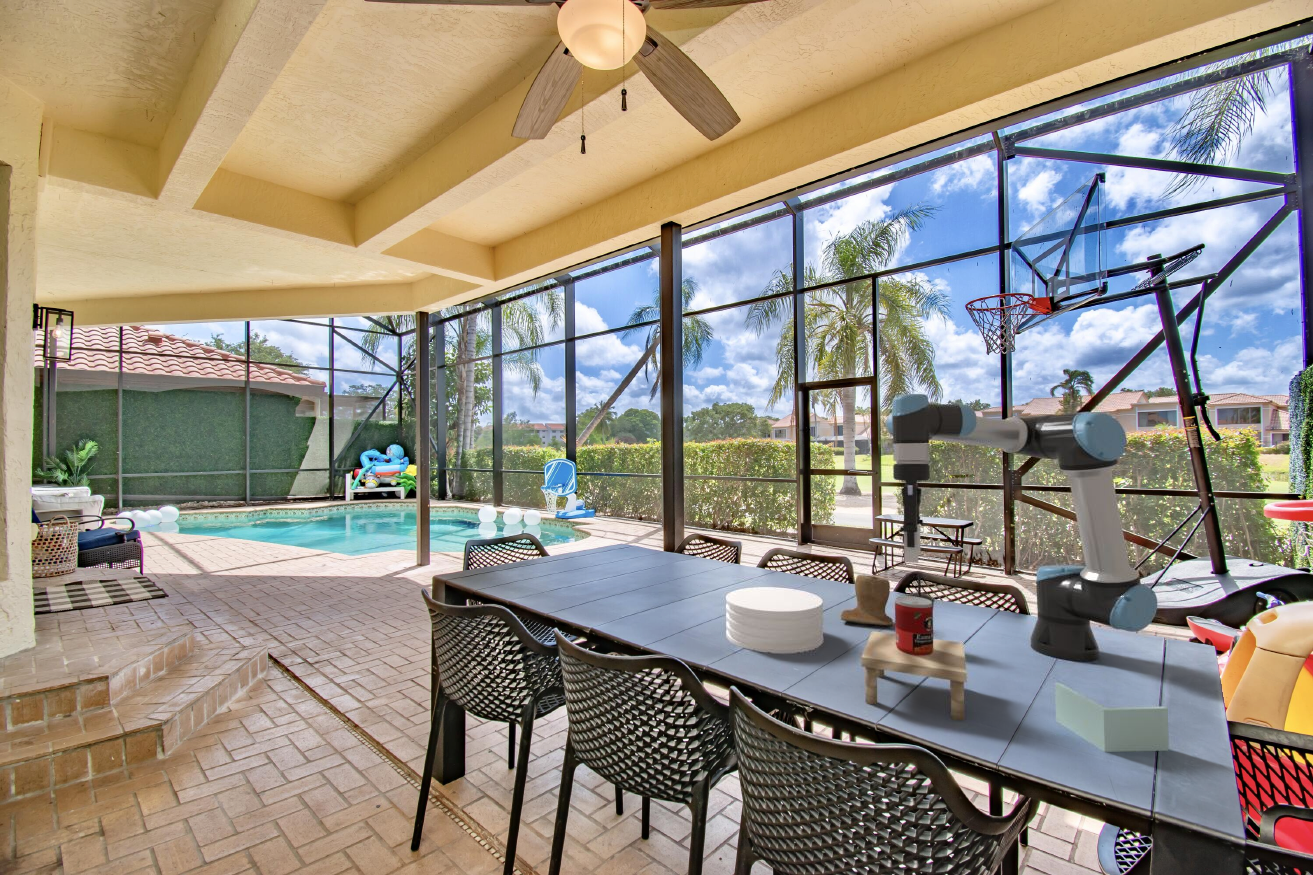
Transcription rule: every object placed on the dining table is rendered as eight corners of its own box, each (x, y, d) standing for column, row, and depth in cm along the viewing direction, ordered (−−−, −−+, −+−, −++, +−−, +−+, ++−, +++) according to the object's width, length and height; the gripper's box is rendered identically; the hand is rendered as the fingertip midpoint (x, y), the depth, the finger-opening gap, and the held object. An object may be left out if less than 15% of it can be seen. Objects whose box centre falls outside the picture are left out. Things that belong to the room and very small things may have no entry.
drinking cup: (929, 642, 162) (928, 571, 162) (940, 651, 154) (938, 577, 155) (901, 641, 163) (900, 571, 163) (910, 651, 155) (909, 577, 156)
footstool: (964, 686, 132) (963, 642, 132) (967, 723, 114) (966, 672, 114) (872, 671, 141) (871, 630, 141) (862, 703, 123) (861, 656, 123)
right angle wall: (1168, 750, 103) (1167, 708, 103) (1104, 751, 103) (1103, 709, 103) (1113, 719, 115) (1112, 681, 115) (1055, 720, 115) (1054, 682, 115)
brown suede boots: (893, 619, 184) (892, 573, 185) (892, 630, 173) (891, 580, 174) (844, 614, 190) (843, 569, 191) (840, 624, 179) (839, 576, 180)
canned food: (918, 658, 122) (917, 606, 123) (887, 646, 129) (887, 598, 130) (941, 652, 126) (940, 602, 126) (910, 641, 133) (909, 594, 133)
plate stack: (834, 632, 172) (834, 594, 173) (805, 661, 149) (805, 616, 149) (748, 618, 187) (748, 583, 188) (710, 642, 164) (709, 602, 164)
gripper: (897, 461, 142) (898, 547, 141) (888, 463, 119) (890, 565, 119) (930, 461, 138) (932, 549, 138) (928, 463, 116) (930, 568, 115)
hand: (912, 557), depth 128 cm, fingers open, 13 cm apart
